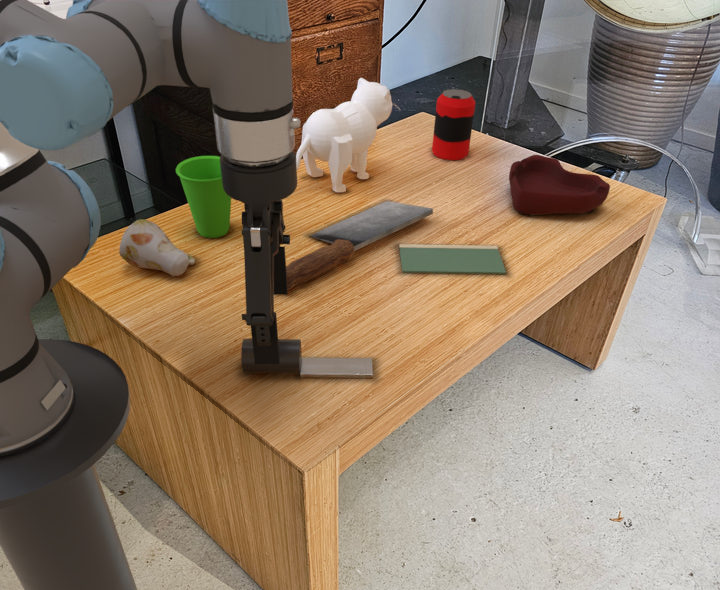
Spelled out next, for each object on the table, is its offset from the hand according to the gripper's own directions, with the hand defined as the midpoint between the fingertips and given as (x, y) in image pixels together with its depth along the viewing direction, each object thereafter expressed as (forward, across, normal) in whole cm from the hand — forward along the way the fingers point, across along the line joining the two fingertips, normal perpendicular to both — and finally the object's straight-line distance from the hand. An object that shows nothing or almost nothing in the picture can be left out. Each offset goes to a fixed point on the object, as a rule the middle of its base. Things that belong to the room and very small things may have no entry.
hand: (272, 325), depth 78 cm
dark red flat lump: (+8, +47, -45) cm, 66 cm away
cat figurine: (+7, +55, -8) cm, 56 cm away
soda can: (+7, +69, -31) cm, 76 cm away
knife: (+7, 0, -4) cm, 8 cm away
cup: (+7, +35, +13) cm, 38 cm away
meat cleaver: (+7, +31, -8) cm, 33 cm away
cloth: (+7, +27, -26) cm, 38 cm away
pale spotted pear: (+7, +23, +19) cm, 31 cm away
